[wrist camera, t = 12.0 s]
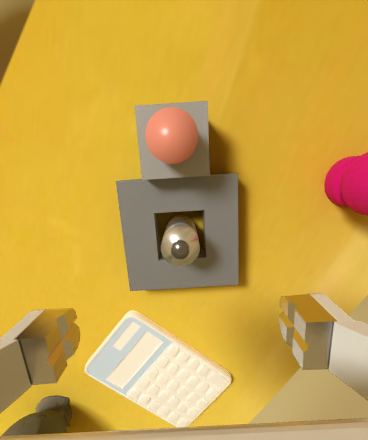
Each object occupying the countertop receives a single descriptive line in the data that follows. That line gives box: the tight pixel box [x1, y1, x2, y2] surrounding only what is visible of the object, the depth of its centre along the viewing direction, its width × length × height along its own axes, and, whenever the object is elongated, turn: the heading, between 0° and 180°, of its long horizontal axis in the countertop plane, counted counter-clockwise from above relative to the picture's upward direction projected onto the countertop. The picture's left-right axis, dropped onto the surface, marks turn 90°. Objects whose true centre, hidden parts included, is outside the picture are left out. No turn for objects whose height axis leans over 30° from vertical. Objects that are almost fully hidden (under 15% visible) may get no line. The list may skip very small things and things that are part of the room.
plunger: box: [145, 107, 198, 164], centre depth 18 cm, size 4×4×2 cm
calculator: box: [85, 310, 232, 427], centre depth 33 cm, size 13×20×2 cm, turn 52°
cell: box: [161, 215, 200, 266], centre depth 25 cm, size 4×4×8 cm
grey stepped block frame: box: [116, 101, 239, 291], centre depth 25 cm, size 21×14×6 cm, turn 4°
